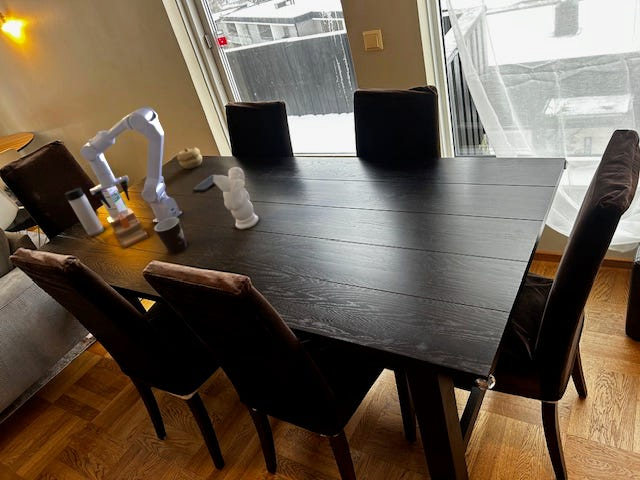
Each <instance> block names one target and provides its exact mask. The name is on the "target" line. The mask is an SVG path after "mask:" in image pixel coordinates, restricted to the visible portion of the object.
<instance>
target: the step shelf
mask: <svg viewBox="0 0 640 480" xmlns="http://www.w3.org/2000/svg"><path fill="white" fill-rule="evenodd" d="M121 213H122V214H124V215H125V217H126V218H127V220H128V222H129V224H130V227H128V228H126V229H124V227H123V226H122V224H121V222H120V220H119V218H118V215H119V216H121V215H122V214H121ZM106 220H107V221H108V223H109V225H110V227H111V229H112V231H113V232H114V234H115V235H116V238H117V239H118V241H119V243H120V244H121V246H122V248H123V249H126V248H128V247H130V246H133V245H134V244H135V245H136V243H138V242H141V241H144V240H145V239H147V238H149V235H148V233H147V231H145V229H144V227H143V226H142V224H141V222H140V221H139V219H138V218H137V216H136V214H135V212H134V210H132V208H131V207H129V208H128V209H126V210H124V211H122V212H119V213H117V214H115V215H113V216H110V215H109V216H108V217H106Z"/></svg>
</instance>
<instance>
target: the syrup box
mask: <svg viewBox="0 0 640 480" xmlns="http://www.w3.org/2000/svg"><path fill="white" fill-rule="evenodd" d="M102 192H103V194H104V196H105V198H106V199H107V201H108V202H109V204H110V206H111V208H109V207H108V206H107V205H106V204H105V203H104V202H103V201H102V200H100V202H101V203H102V204H103V207H104V208H105V210H106V212H107V213H108V215H109V217H110V216H113V215H115V214H117V213H119V212H122V211H124V210H126V209H129V208H128V206H127V204H126V203H125V200H124V199H123V197H122V194H121V193H120V191H119V189H118V187H117V185H116V186H114V187H111V188H108V189H106V190H103V191H102Z"/></svg>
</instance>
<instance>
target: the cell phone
mask: <svg viewBox="0 0 640 480" xmlns="http://www.w3.org/2000/svg"><path fill="white" fill-rule="evenodd" d="M214 175H215V174H211V175H210V176H209V177H207V178H206V179H204V180H203V181H201V182H200V183H199V184H197V185H196V186H194V188H193V190H194V191H207V190H208V189H210V188H212V186H214V185H216V184H215V182H213V180H214V179H213V177H214ZM217 175H218V176H220V175H221V174H217Z"/></svg>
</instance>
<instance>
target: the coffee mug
mask: <svg viewBox="0 0 640 480" xmlns="http://www.w3.org/2000/svg"><path fill="white" fill-rule="evenodd" d="M153 229H154V231H155V233H156V234H157V236H158V237H159V239H160V240H161V242H162V243H163V245H164V247H165V248H166V249H167V251H168V252H169V254H172V255H175V254H179V253H181V252H182V251H184V250H186V248H187V247H188V245H187V242H186V237H185V235H184V231H183V229H182V225H181V220H180V219H179V217H176V218H168V219H165V220H163V221H161V222H157V224H156V225H155V226H154V227H153Z"/></svg>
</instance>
